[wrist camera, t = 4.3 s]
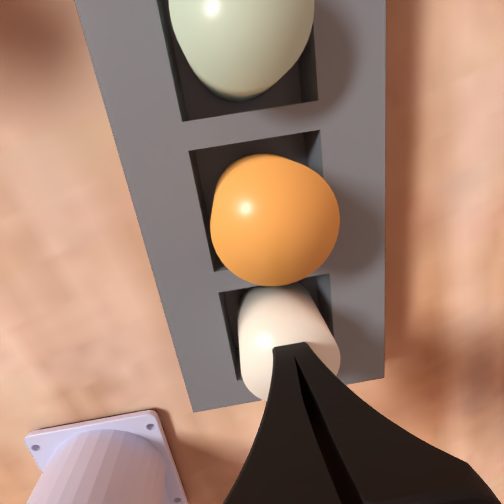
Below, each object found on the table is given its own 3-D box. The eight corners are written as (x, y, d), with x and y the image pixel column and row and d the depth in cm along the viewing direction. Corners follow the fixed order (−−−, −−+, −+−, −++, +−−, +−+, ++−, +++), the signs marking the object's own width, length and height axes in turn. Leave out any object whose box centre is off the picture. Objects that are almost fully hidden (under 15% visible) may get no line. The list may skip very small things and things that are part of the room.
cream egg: (316, 338, 17) (342, 395, 13) (243, 351, 17) (248, 412, 13) (310, 271, 16) (337, 314, 12) (230, 285, 16) (232, 332, 12)
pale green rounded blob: (292, 93, 13) (319, 78, 9) (197, 108, 13) (186, 98, 9) (281, -25, 12) (308, -98, 8) (174, -9, 12) (151, -77, 8)
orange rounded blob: (311, 237, 14) (342, 274, 10) (223, 252, 14) (223, 295, 10) (303, 144, 13) (336, 149, 9) (205, 160, 13) (197, 172, 9)
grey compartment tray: (361, 342, 19) (384, 377, 16) (197, 371, 19) (193, 412, 16) (348, -90, 12) (386, -157, 9) (85, -52, 12) (42, -110, 9)
